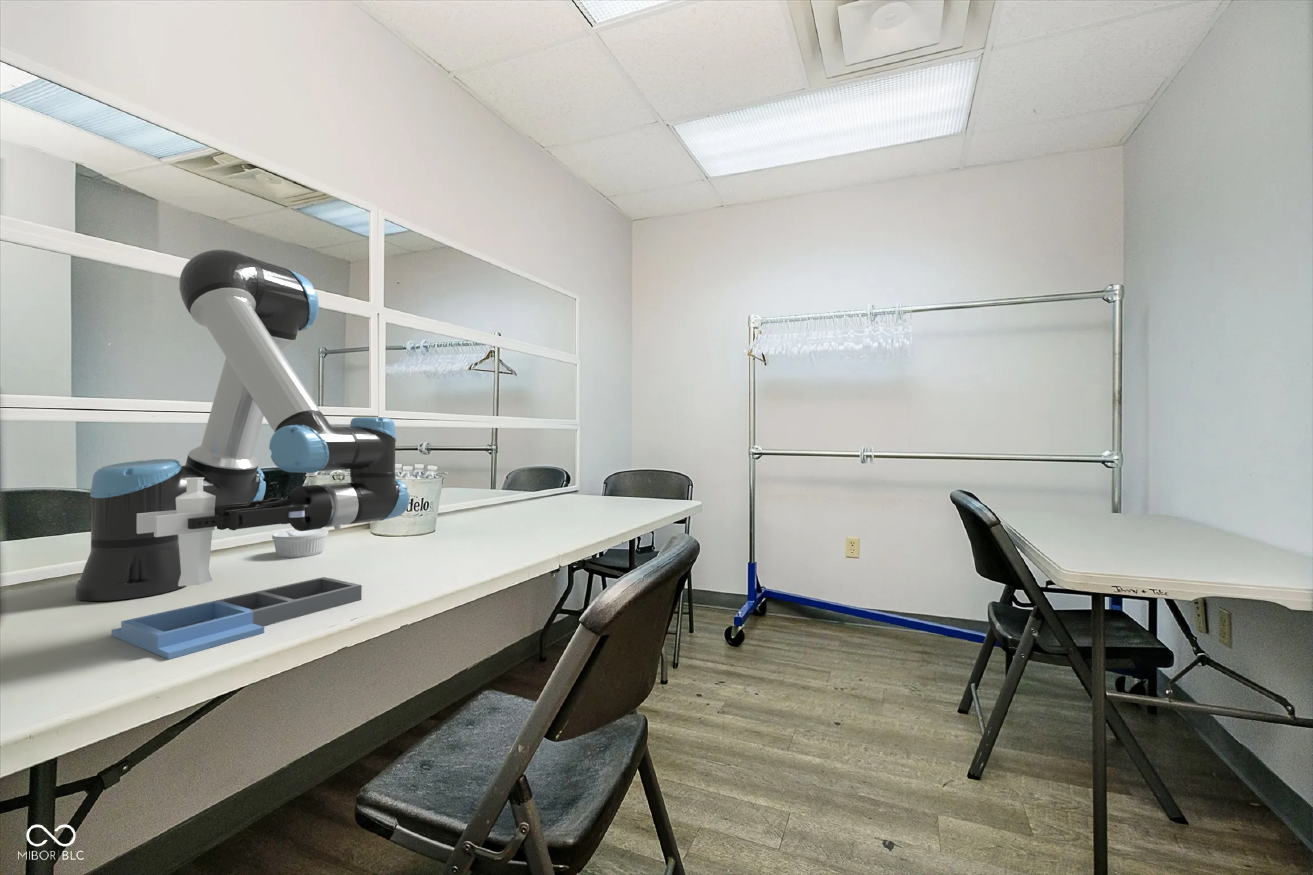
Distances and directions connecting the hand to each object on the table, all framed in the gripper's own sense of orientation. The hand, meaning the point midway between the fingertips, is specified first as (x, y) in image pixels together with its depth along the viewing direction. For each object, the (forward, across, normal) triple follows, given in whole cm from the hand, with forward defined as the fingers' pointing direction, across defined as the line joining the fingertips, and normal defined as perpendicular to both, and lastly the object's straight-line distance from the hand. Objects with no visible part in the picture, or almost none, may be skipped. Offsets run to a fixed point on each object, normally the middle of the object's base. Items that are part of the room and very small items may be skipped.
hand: (146, 525), depth 74 cm
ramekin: (-43, +42, -16) cm, 62 cm away
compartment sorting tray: (-13, +1, -16) cm, 21 cm away
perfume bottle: (-5, 0, -9) cm, 11 cm away
